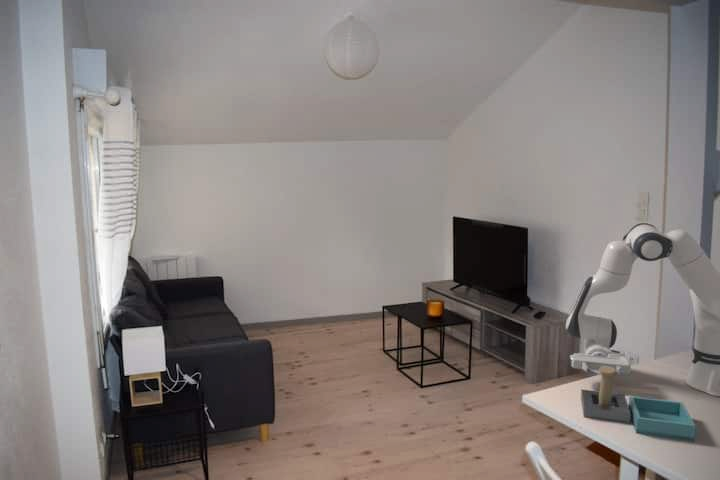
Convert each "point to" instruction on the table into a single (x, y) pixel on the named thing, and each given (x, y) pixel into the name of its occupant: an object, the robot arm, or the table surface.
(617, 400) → the socket block
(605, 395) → the handle
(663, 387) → the table surface
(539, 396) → the table surface
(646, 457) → the table surface
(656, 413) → the bin
